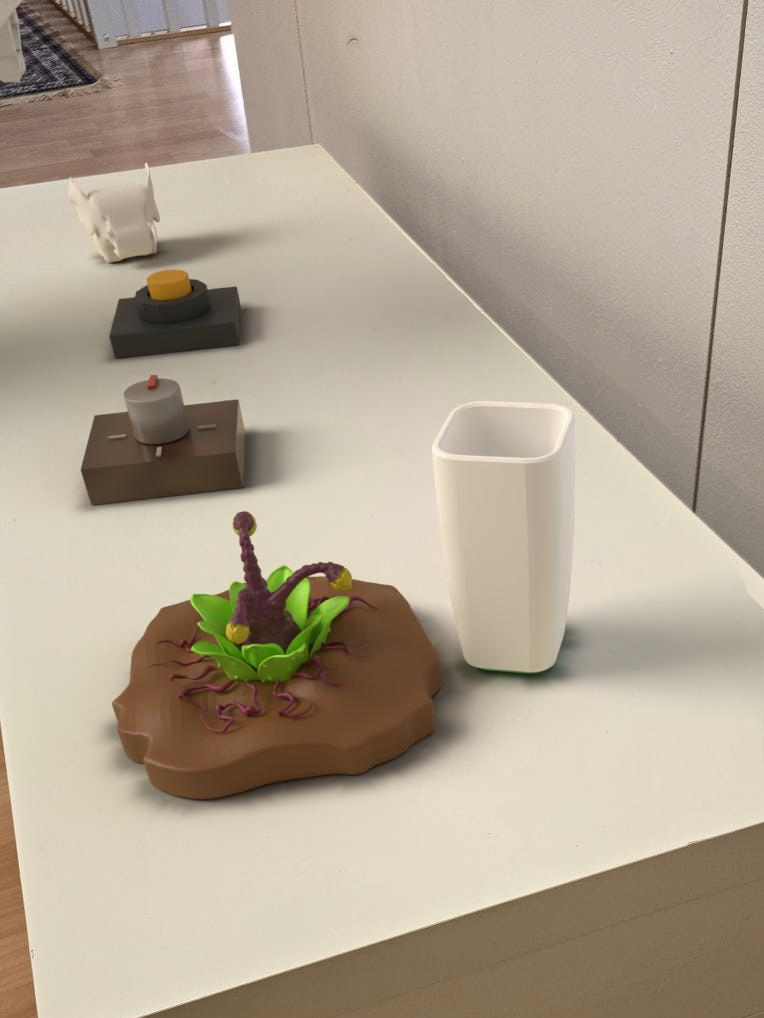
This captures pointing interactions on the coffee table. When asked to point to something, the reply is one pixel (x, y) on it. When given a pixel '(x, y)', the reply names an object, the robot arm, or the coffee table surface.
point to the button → (169, 284)
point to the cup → (507, 529)
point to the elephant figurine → (119, 218)
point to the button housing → (176, 321)
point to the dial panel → (165, 456)
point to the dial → (156, 410)
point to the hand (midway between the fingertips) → (13, 78)
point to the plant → (277, 681)
